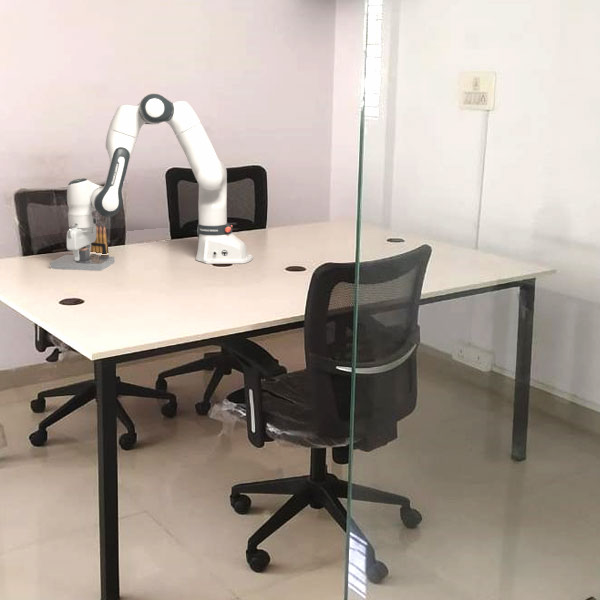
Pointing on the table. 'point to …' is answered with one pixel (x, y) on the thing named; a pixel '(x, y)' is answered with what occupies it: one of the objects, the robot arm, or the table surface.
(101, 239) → the ammunition clip
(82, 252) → the plug
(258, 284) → the table surface
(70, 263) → the socket plate
